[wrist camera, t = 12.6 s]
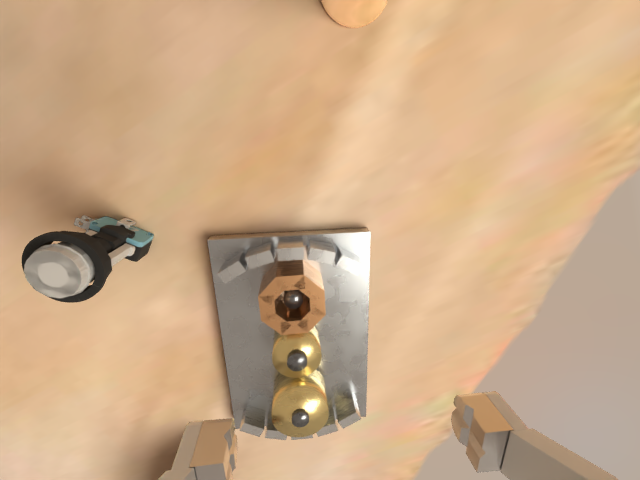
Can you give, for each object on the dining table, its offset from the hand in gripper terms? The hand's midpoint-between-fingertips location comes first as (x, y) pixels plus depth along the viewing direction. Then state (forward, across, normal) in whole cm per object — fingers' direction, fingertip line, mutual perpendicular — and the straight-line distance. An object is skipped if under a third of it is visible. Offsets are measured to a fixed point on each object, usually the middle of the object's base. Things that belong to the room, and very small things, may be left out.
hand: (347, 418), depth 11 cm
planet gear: (+20, +2, +5) cm, 21 cm away
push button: (+23, +18, -1) cm, 29 cm away
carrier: (+22, +2, +11) cm, 25 cm away
